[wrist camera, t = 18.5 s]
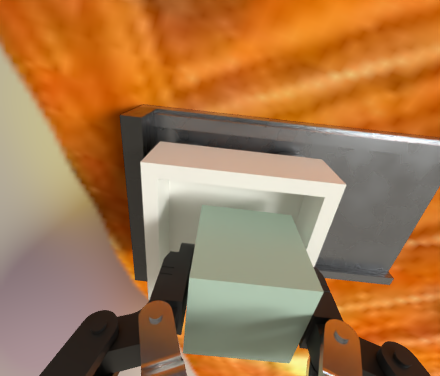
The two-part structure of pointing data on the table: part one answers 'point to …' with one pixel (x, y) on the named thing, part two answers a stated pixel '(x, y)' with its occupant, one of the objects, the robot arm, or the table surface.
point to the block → (249, 286)
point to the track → (310, 148)
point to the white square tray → (231, 193)
